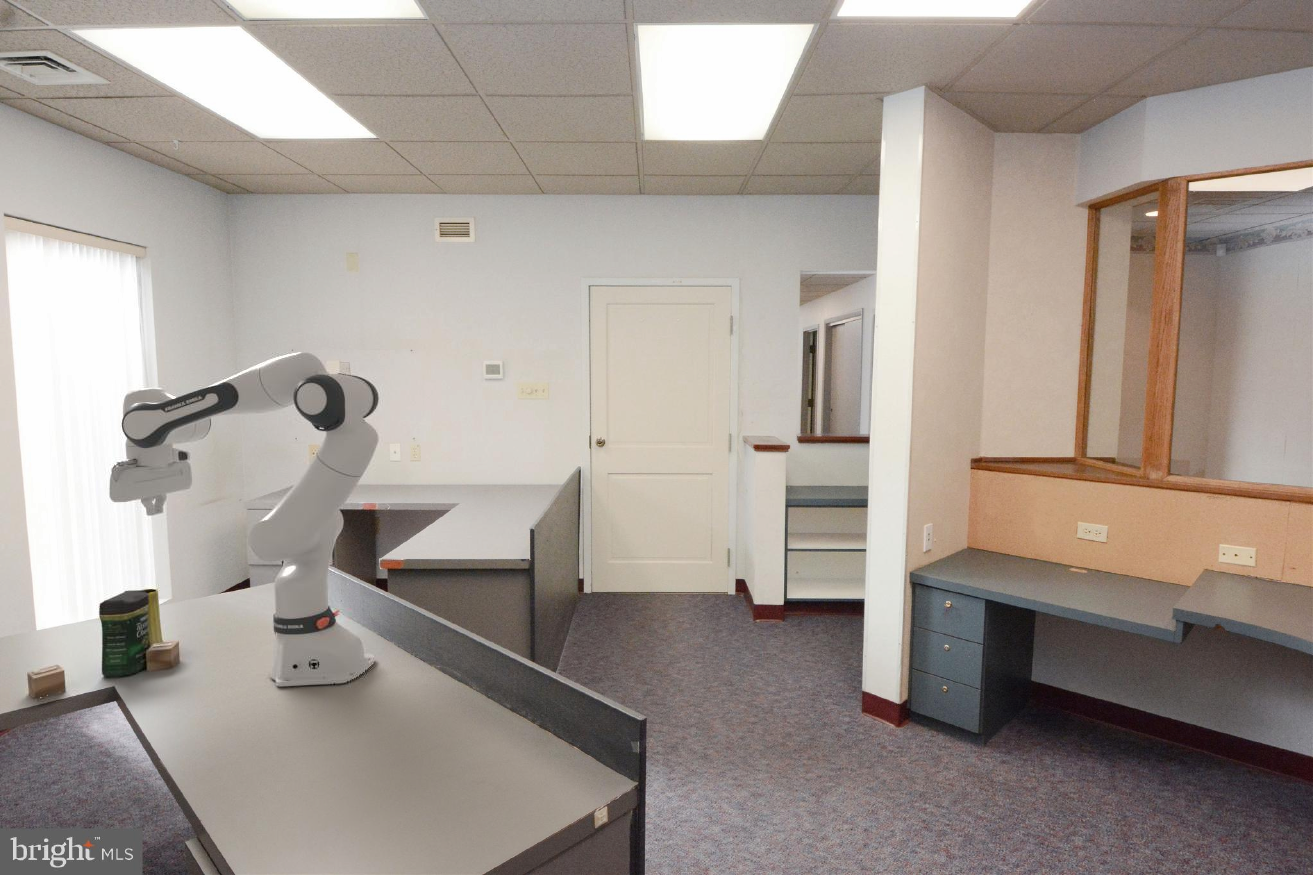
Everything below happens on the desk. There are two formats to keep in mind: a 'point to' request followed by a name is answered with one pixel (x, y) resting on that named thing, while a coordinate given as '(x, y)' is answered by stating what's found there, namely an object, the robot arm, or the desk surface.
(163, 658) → the marked block 2
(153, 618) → the vase
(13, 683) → the desk surface
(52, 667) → the marked block 1
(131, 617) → the coffee jar
